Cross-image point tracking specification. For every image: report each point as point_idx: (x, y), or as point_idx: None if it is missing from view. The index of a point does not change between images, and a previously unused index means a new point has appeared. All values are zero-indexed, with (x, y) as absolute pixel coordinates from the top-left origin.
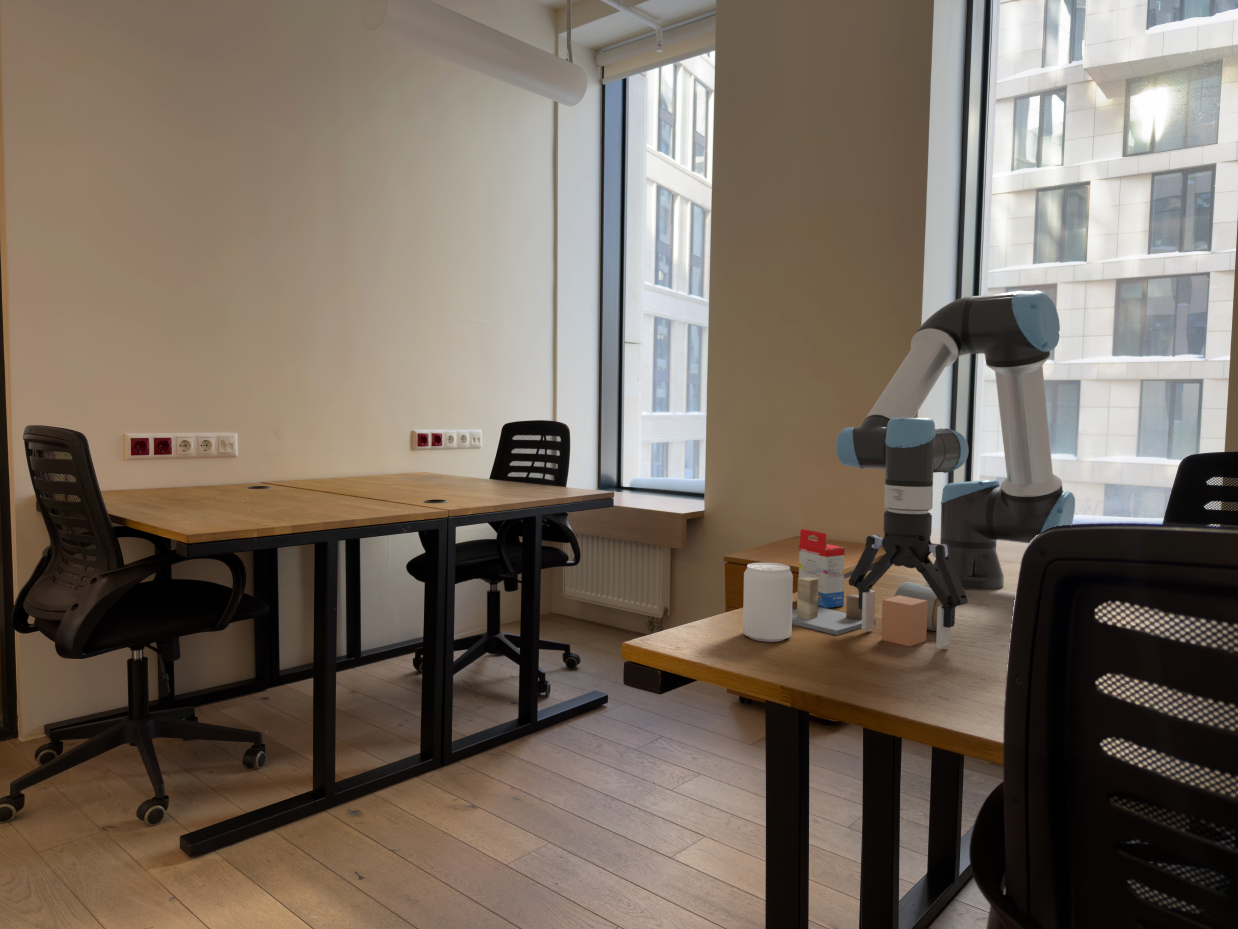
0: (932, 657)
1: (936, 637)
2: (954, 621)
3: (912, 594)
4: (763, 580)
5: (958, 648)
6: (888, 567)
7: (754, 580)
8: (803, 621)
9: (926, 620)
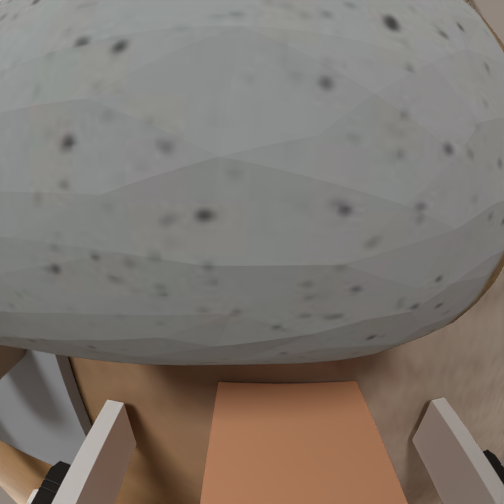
0: (406, 469)
1: (423, 462)
2: (497, 462)
3: (127, 359)
4: None
5: (463, 362)
6: None
7: None
8: (14, 444)
9: (382, 447)
